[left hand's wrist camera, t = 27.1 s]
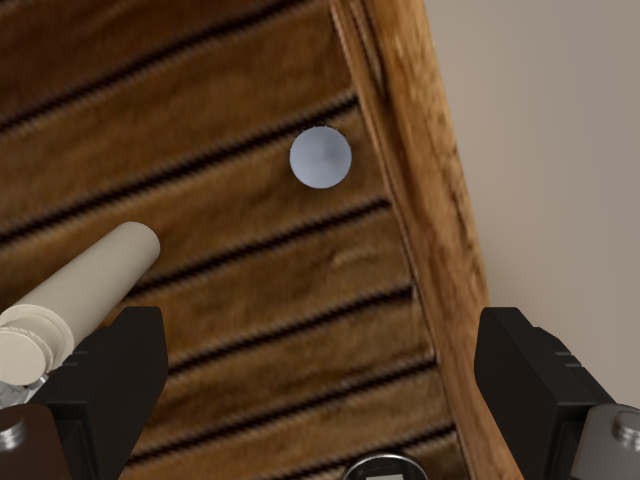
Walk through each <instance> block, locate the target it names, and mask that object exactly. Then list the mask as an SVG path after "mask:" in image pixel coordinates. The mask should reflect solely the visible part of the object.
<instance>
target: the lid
mask: <svg viewBox="0 0 640 480" xmlns="http://www.w3.org/2000/svg"><path fill="white" fill-rule="evenodd" d="M294 139H295V140H294V142H293V144H292V146H291V147H290V150H291V151H290V160H289V162H290V164H291V168H292V170H293V172H294V174H295V176H296V177H297V178H298V179H299V180H300V181H301V182H302V183H304V184H305V185H307V186H310V187H313V188H319V189H322V188H329V187H332V186H334V185H336V184H338V183H339V182H340V181H342V179H343V178H344V177H345V176H346V175H347V173H348V171H349V169H350V166H351V160H352V155H351V146H350V144H348V141H347V139H346V136H345V134H344V135H343V134H342V132H340V131H339V130H338V129H337V127H333V126H331V125H327V124H326V123H325V124H315V123H314V124H313V125H311V126H308V127H306V128H303V130H302V131H301V132H300V133H299V134H298V135H297V136H295V138H294Z"/></svg>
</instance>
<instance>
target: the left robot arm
mask: <svg viewBox="0 0 640 480" xmlns="http://www.w3.org/2000/svg"><path fill="white" fill-rule="evenodd" d="M474 374H475V379H476V383H477V386H478V388H479V390H480V392H481V394H482V396H483V398H484V400H485V402H486V404H487V406H488V408H489V410H490V412H491V414H492V416H493V418H494V420H495V422H496V424H497V426H498V428H499V430H500V432H501V434H502V436H503V438H504V440H505V442H506V444H507V446H508V448H509V450H510V452H511V454H512V456H513V458H514V460H515V462H516V464H517V466H518V468H519V470H520V471H521V473H522V475H523V477H524V479H525V480H640V409H637V408H634V407H631V406H627V405H623V404H617V403H616V402H615V401H614V400H613V399H612V397H611V396H610V395H609V394H608V393H607V392H606V391H605V390H604V389H603V387H602V386H601V385H600V384H599V383H598V382H597V381H596V380H595V379H594V377H593V376H592V375H591V374H590V373H589V372H588V371H587V370H586V369H585V368H584V367H582V366H581V363H580V362H579V361H578V360H577V359H576V357H575V356H573V355H571V352H570V351H569V350H568V349H567V347H566V346H565V345H564V344H563V343H562V342H561V341H560V340H559V339H558V338H556V337H555V336H553V335H551V334H550V333H548V332H547V331H545V330H543V329H542V328H540V327H533V326H532V325H531V324H530V322H529V321H528V320H527V319H526V318H525V316H524V315H523V314H522V313H521V312H520V310H519V309H518V308H516V307H485V308H484V309H483V310H482V312H481V316H480V322H479V329H478V337H477V344H476V351H475V358H474ZM167 375H168V355H167V348H166V340H165V333H164V326H163V318H162V313H161V310H160V308H159V307H125V308H124V309H123V311H122V312H121V313H120V314H119V315H118V317H117V318H116V319H115V320H114V321H113V323H112V324H111V325H110V326H103V327H101V328H100V329H98V330H96V331H95V332H93V333H92V334H90V335H88V336H87V337H85V338H84V339H83V340H82V341H81V342H80V343H79V344H78V345H77V347H76V348H75V349H74V350H73V351H72V354H69V356H68V357H67V358H66V359H65V360H64V361H63V362H62V366H59V367H58V368H57V369H56V370H55V371H54V372H53V373H52V375H51V376H50V377H49V378H48V379H47V380H46V381H45V382H44V384H43V385H42V386H41V387H40V388H39V389H38V390H37V391H36V392H35V394H34V395H33V396H32V397H31V398H30V399H29V400H28V401H27V403H23V404H17V405H12V406H9V407H6V408H3V409H0V480H118V478H119V476H120V474H121V472H122V470H123V468H124V466H125V464H126V462H127V460H128V458H129V456H130V454H131V452H132V450H133V448H134V446H135V444H136V442H137V440H138V438H139V436H140V434H141V432H142V430H143V428H144V426H145V424H146V422H147V420H148V418H149V416H150V414H151V412H152V410H153V408H154V406H155V404H156V402H157V400H158V398H159V396H160V394H161V392H162V390H163V388H164V386H165V383H166V380H167ZM342 480H428V478H427V474H426V471H425V469H424V468H423V466H422V465H421V464H420V463H419V462H418V461H417V460H416V459H415V458H413V457H412V456H410V455H408V454H405V453H402V452H398V451H392V450H380V451H374V452H370V453H367V454H365V455H362V456H361V457H359V458H357V459H356V460H354V461H353V462H352V463H351V464H350V465H349V466H348V467H347V468H346V470H345V472H344V474H343V476H342Z"/></svg>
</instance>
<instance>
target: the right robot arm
mask: <svg viewBox="0 0 640 480" xmlns="http://www.w3.org/2000/svg"><path fill="white" fill-rule="evenodd" d="M55 370H56V369H54V370H50V371H49V372H48V373H45V374H44V375H43V376H42V377H41V378H40V379H39V380H37V381H36V382H34V383H31V384H28V385H27V386H28V387H29V388H27V389H25V388H24V387H23V385H11V384H7V383H5V382H2V381H0V409H3V408H6V407H9V406H12V405H17V404H23V403H27V401H28V400H29V399H30V398H31V397H32V396H33V395H34V394H35V392H36V391H37V390H38V389H39V388H40V387H41V386H42V385H43V384H44V382H45V381H46V380H47V379H48V378H49V377H50V376H51V375H52V373H53V372H54V371H55Z"/></svg>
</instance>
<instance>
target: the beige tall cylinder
mask: <svg viewBox="0 0 640 480" xmlns="http://www.w3.org/2000/svg"><path fill="white" fill-rule="evenodd" d="M159 254H160V243H159V240H158V238H157V236H156V234H155V233H154V232H153V231H152V230H151V229H150V228H149V227H147V226H145V225H143V224H141V223H137V222H126V223H122V224H120V225H119V226H117V227H116V228H114V229H113V230H112V231H110V232H109V233H108V234H106V235H105V236H104V237H102V238H101V239H100V240H98V241H97V242H96V243H94V244H93V245H92V246H90V247H89V248H88V249H86V250H85V251H84V252H82V253H81V254H80V255H78V256H77V257H76V258H74V259H73V260H72V261H70V262H69V263H68V264H66V265H65V266H64V267H62V268H61V269H60V270H58V271H57V272H56V273H54V274H53V275H52V276H50V277H49V278H48V279H46V280H45V281H44V282H42V283H41V284H40V285H38V286H37V287H36V288H34V289H33V290H32V291H30V292H29V293H28V294H26V295H25V296H24V297H22V298H21V299H20V300H18V301H17V302H16V303H14V304H13V305H12V306H10V307H9V308H8V309H6V310H5V311H4V312H3V313H2V314H1V315H0V381H2V382H5V383H7V384H11V385H28V384H31V383H34V382H36V381H37V380H39V379H40V378H41V377H42V376H43V375H44V374H45V373H48V372H49V371H50V370H54V369H57V368H58V367H59V366H62V362H63V361H64V360H65V359H66V358H67V357H68V356H69V354H72V351H73V350H74V349H75V348H76V347H77V345H78V344H79V343H80V342H81V341H82V340H83V339H84V338H85V337H87V336H88V335H90V334H92V333H93V332H94V331H95V330H96V329H97V328H98V326H99V325H100V324H101V323H102V322H103V321H104V320H105V318H106V317H107V316H108V315H109V314H110V313H111V312H112V310H113V309H114V308H115V307H116V306H117V305H118V304H119V302H120V301H121V300H122V299H123V298H124V297H125V296H126V295H127V293H128V292H129V291H130V290H131V289H132V288H133V287H134V285H135V284H136V283H137V282H138V281H139V280H140V279H141V277H142V276H143V275H144V274H145V273H146V272H147V271H148V269H149V268H150V267H151V266H152V265H153V264H154V263H155V261H156V260H157V259H158V257H159Z"/></svg>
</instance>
